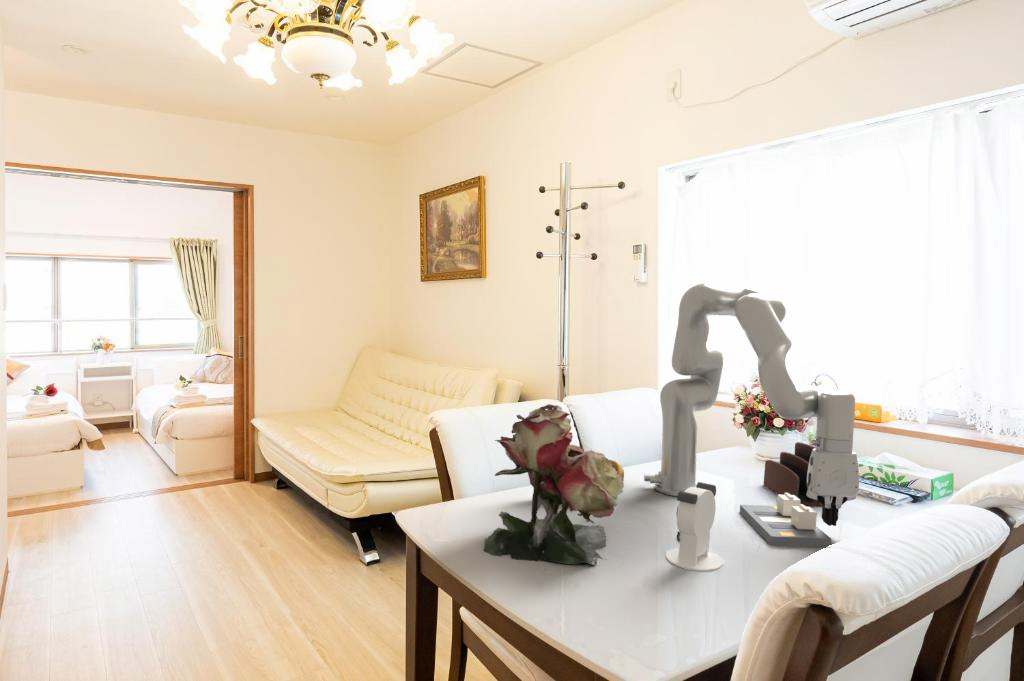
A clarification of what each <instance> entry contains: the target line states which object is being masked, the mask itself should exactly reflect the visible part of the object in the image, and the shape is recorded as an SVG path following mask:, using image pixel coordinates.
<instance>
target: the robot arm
mask: <svg viewBox="0 0 1024 681" xmlns="http://www.w3.org/2000/svg"><path fill="white" fill-rule="evenodd" d="M708 316H731V317H736V319H737V321H738V323H739V325H740V328H741V329H742V331H743V332H744V334H745V336H746V337H747V340H748V342H749V344H750V345H751V347H752V349H753V351H754V352H755V355H756V357H757V360H758V363H757V364H758V365H757V370H758V379H759V383H760V387H761V389H762V391H763V392H764V395H765V397H766V399H767V400H768V402H769V404H770V406H771V408H772V409H773V410H774V412H776V414H777V415H778V416H780V417H781V418H783V419H785V420H788V421H797V420H802V419H810V418H816V432H815V433H816V434H815V436H814V438H813V439H812V438H811V439H810V440H809V445H810V446H813V447H815V448H816V449H813V450H812V453H811V457H810V461H809V466H808V473H807V488H808V490H807V494H806V495H807V496H808V497H809V498H812V499H815V500H818V501H819V502H820V503H821V504H822V506H821V519H822V521H823V523H825V524H826V525H827V526H834V527H836V526H837V522H839V510H840V509H841V508H842V505H844V504H845V503H846V502H847V501H848V502H850V501H853V500H856V499H857V496H858V494H859V491H860V472H859V470H860V469H859V462H858V457H857V456H858V455H857V453H856V452H855V451H853V448H854V446H853V444H854V432H855V431H854V428H855V410H856V397H855V395H854V394H853V393H851V392H849V391H843V390H831V389H830V390H829V389H825V388H821V387H819V386H814V385H803V386H796V385H795V384H794V382H793V381H792V379H791V377H790V375H789V373H788V370H787V367H786V357H787V354H788V352H789V351H790V349H791V347H792V340H791V339H790V337H789V335H788V333H787V332H786V330H785V329H784V327H783V325H782V322H783V320H784V319H785V317H786V306H785V303H784V301H783V300H782V299H781V298H780V297H779V296H777V295H775V294H773V293H769V292H764V291H761V290H757V289H755V288H754V289H753V288H750V287H745V286H742V285H738V284H729V283H718V282H715V283H714V282H709V283H708V282H707V283H706V282H705V283H699V284H696V285H693V286H692V287H689V289H688V290H686V291H685V293H684V294H683V295H682V297H681V298H680V303H679V308H678V321H677V327H676V332H675V338H674V344H673V348H672V356H671V366H672V369H673V371H674V372H675V373H677V374H678V375H680V376H689V377H690V378H679V379H678V378H677V379H673V380H671V381H669V382H667V383H665V385H663V387H662V388H661V391H660V396H659V398H660V407H661V415H662V434H661V435H662V437H661V439H662V441H661V466H660V470H658V473H655V474H652V475H651V474H643V481H644V482H648V483H650V484H654V489H655V490H656V491H657V492H658V493H659V492H660V493H661V494H665V495H668V496H673V497H674V496H675V497H677V496H678V493H679V491H683V492H684V491H685V490H686V489H688V488H689V487H696V486H697V484H696V479H697V478H696V476H697V473H696V472H697V453H698V425H697V421H696V418H695V415H694V413H695V412H701V411H702V412H703V411H707V410H709V409H710V408H712V407H713V406H714V405H715V402H716V400H717V397H718V393H719V388H720V383H721V377H722V372H723V366H724V356H723V353H722V350H721V348H720V347H719V346H718V345H717V344H715V343H714V342H712V341H708V337H709V334H710V324H709V320H708ZM830 496H832V498H831V503H830Z"/></svg>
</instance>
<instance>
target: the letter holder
mask: <svg viewBox="0 0 1024 681" xmlns="http://www.w3.org/2000/svg"><path fill="white" fill-rule="evenodd" d="M813 449H816V447H815V446H814V445H810V444H808V443H803V442H795V444H794V454H793V453H791V452H787V451H781V452H780V454H779V462H777V461H775V460H771V459H766V460H765V464H764V473H763V486H765V487H766V488H768V490H769V489H770V490H771V491H773V492H774V493H775V492H776V493H775V494H777V495H784V494H785V493H789V494H790V495H795V496H796V497H797V498H799V499H800V500H801V503H800V504H803V505H804V506H806V507H822V504H821V503H820V502H819V501H818V500H815V499H812V498H809V497H808V496H807V495H806V494H807V490H808V488H807V473H808V466H809V461H810V457H811V453H812V450H813ZM831 498H832V496H830V503H831Z"/></svg>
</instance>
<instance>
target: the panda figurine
mask: <svg viewBox="0 0 1024 681" xmlns="http://www.w3.org/2000/svg"><path fill="white" fill-rule="evenodd" d="M696 485H697V486H696V487H689V488H688V489H686V490H685V491H684V492H683V491H679V493H678V496H676V497H677V499H676V500H677V501H678V505H677V509H676V525H677V529H678V531H677V533H676V541H677V542H678V543H679V547H676V548H672V549H670V550H667V552H666V554H665V558H666V560H667V561H668V562H669V563H670V564H672V565H673V566H676V567H678V568H680V567H681V569H683V568H684V569H685V570H688V571H695V572H712V571H716V570H719V569H721V568H722V567H723V566H724V562H723V559H722V557H721V556H719V555H717V553H715V552H712V551H709V550H710V549H709V548H710V536H711V529H712V527H713V524H714V521H715V516H716V510H717V508H716V507H717V506H716V498H715V496H716V494H717V486H716V485H715V484H711V483H707V482H706V483H705V482H701V481H698V482H697V484H696Z"/></svg>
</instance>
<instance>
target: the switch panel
mask: <svg viewBox="0 0 1024 681" xmlns="http://www.w3.org/2000/svg"><path fill="white" fill-rule="evenodd" d="M739 513H740V514H741V516H743V517H744V518H745V520H747V522H748V523H749V524H750V525H751V526H752V527H753V528H754V529H755V530H756V531H757V532H758V533H759V534H760V535H761V537H763V539H764V540H765V541H766V542H768V544H769V545H770V546H779V545H781V547H782V546H785V547H805V546H811V548H828V547H827V546H829V545H831V546H832V537H830V536H829V535H828V534H827V533H825V531H823V530H822V529H820V528H819V527H818V526H817V525H816V530H810V529H797V528H796V527H795V526H794V525H793V524H792V523H791V516H783V515H781V514H780V513H779V512H778V511H777V505H761V504H740V505H739Z"/></svg>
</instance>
